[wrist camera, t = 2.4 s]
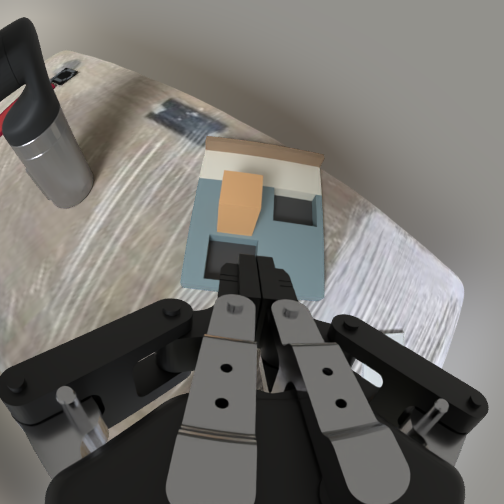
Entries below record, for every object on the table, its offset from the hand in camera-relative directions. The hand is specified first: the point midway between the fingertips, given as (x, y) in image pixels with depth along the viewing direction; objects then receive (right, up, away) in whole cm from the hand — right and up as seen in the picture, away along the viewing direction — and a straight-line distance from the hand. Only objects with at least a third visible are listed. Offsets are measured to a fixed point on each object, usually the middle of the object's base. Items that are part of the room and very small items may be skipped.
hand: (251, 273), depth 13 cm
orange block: (-2, +6, +28) cm, 29 cm away
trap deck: (+1, +6, +32) cm, 32 cm away
